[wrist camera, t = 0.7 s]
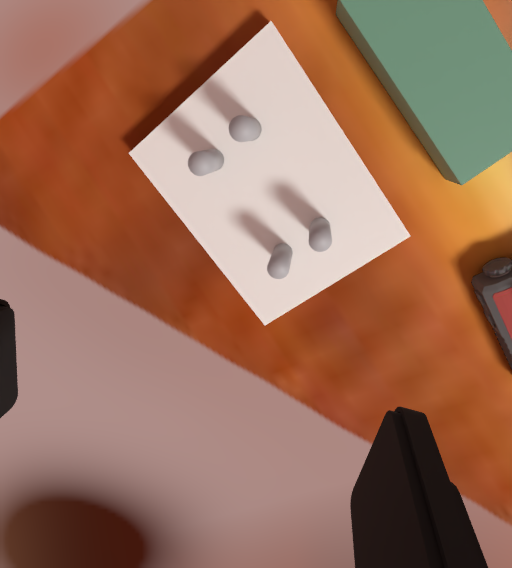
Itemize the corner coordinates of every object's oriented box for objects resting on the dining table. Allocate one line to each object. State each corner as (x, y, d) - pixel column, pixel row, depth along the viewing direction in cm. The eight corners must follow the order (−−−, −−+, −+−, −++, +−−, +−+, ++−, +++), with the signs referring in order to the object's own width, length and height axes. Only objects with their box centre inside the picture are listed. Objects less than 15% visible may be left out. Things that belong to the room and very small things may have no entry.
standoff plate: (273, 26, 27) (263, 2, 22) (406, 231, 31) (423, 250, 26) (136, 152, 32) (102, 156, 27) (266, 318, 36) (258, 348, 31)
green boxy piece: (413, -58, 25) (429, -91, 21) (522, 124, 28) (553, 123, 24) (335, 15, 27) (338, -3, 23) (443, 178, 30) (461, 185, 26)
